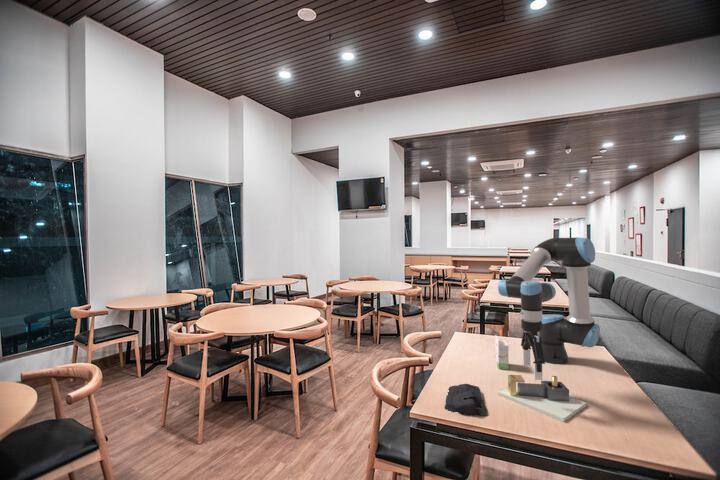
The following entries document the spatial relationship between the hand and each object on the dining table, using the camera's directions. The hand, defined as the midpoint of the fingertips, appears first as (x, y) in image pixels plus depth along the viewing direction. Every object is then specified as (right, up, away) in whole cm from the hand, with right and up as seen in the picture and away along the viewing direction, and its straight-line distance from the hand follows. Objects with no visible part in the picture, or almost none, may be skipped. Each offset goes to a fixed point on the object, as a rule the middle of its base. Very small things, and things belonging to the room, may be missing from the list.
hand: (532, 372), depth 135 cm
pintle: (+8, -9, -2) cm, 12 cm away
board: (+2, -10, -2) cm, 11 cm away
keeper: (-6, -10, +1) cm, 12 cm away
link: (+3, -9, -1) cm, 10 cm away
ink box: (+2, -10, +33) cm, 35 cm away
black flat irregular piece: (-28, -11, -2) cm, 30 cm away
